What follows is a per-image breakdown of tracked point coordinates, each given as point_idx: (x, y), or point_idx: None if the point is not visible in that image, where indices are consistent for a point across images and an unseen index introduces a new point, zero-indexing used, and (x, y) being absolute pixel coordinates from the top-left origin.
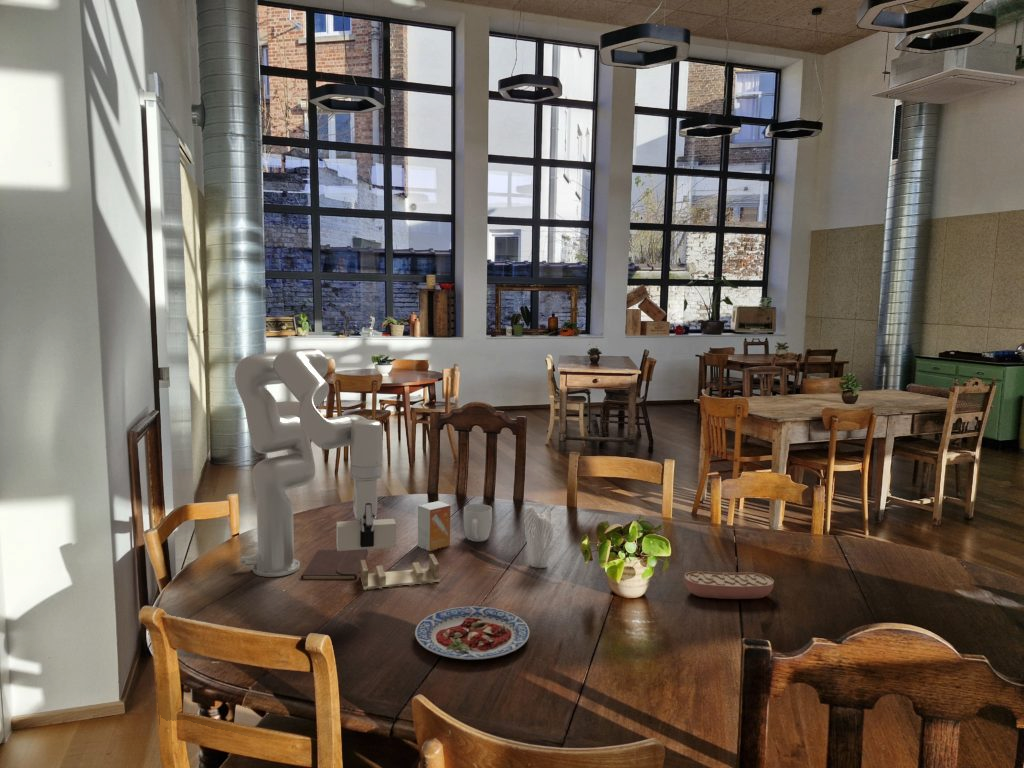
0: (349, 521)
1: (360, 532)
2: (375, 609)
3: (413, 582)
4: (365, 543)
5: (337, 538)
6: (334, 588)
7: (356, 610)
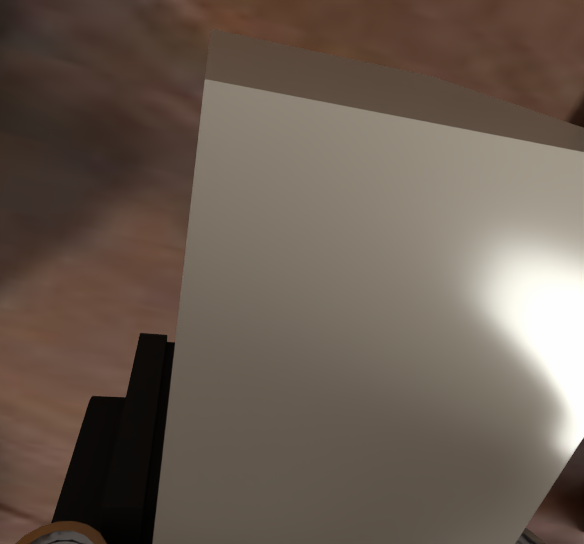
0: (538, 468)
1: (122, 487)
2: (156, 204)
3: None
4: (89, 409)
5: (227, 46)
6: (492, 75)
7: (175, 114)
